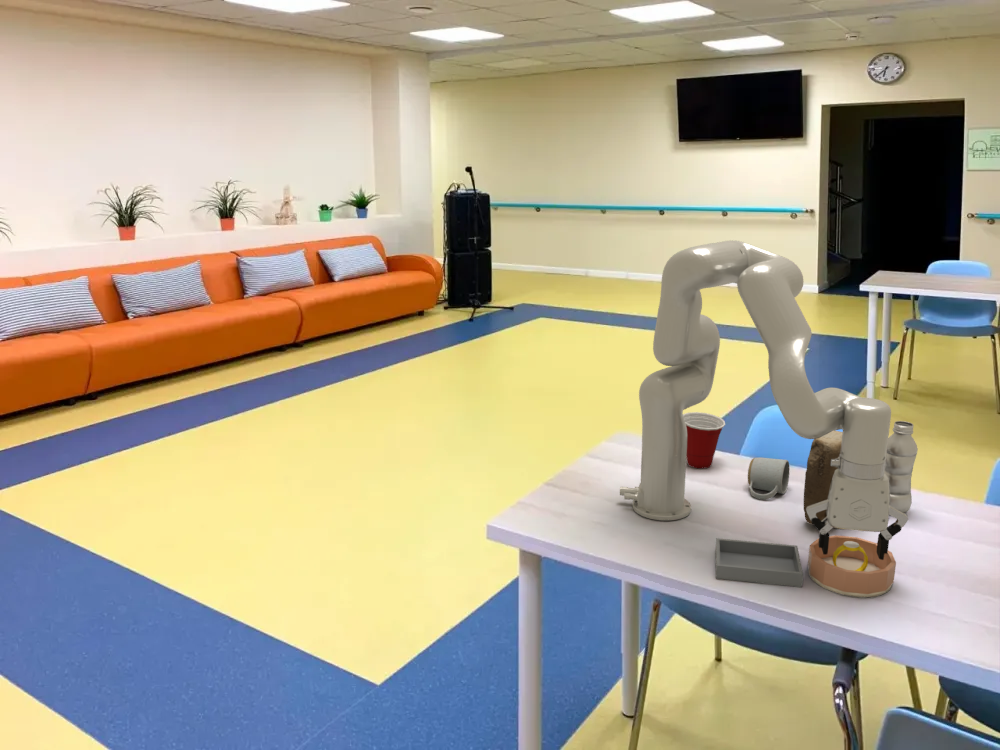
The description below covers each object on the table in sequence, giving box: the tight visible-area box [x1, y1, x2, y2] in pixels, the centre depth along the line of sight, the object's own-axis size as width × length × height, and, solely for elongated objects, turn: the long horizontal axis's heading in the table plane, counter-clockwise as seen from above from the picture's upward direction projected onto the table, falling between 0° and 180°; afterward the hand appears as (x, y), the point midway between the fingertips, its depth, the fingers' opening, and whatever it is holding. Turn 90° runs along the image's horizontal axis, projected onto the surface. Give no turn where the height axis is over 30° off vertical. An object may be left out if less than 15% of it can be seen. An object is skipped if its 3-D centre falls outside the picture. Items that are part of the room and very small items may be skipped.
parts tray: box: [715, 537, 804, 588], centre depth 165 cm, size 15×11×3 cm
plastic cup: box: [683, 411, 726, 469], centre depth 213 cm, size 11×11×12 cm
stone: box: [803, 430, 843, 526], centre depth 180 cm, size 12×7×20 cm, turn 133°
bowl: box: [807, 534, 897, 598], centre depth 161 cm, size 14×14×5 cm
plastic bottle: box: [884, 420, 919, 514], centre depth 185 cm, size 6×7×20 cm
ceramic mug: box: [747, 457, 790, 501], centre depth 198 cm, size 11×8×8 cm
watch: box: [832, 541, 868, 571], centre depth 160 cm, size 6×3×6 cm, turn 81°
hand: (851, 553), depth 160 cm, fingers open, 9 cm apart
